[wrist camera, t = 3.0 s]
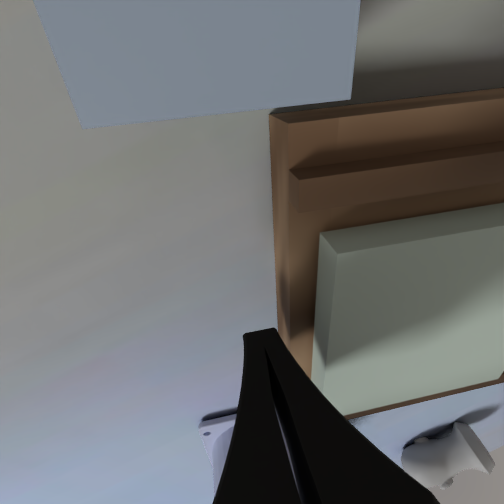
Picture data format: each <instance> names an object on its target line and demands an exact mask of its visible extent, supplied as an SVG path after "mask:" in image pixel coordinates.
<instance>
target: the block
mask: <svg viewBox="0 0 504 504" xmlns="http://www.w3.org/2000/svg"><path fill="white" fill-rule="evenodd" d="M360 1H361V0H33V2H34V4H35V7H36V9H37V12H38V15H39V17H40V20H41V23H42V25H43V28H44V30H45V33H46V36H47V38H48V41H49V43H50V46H51V49H52V51H53V54H54V56H55V59H56V62H57V64H58V67H59V69H60V72H61V75H62V77H63V80H64V82H65V85H66V88H67V90H68V93H69V95H70V98H71V101H72V103H73V106H74V108H75V111H76V114H77V116H78V119H79V121H80V124H81V127H82V129H88V128H97V127H106V126H115V125H124V124H133V123H142V122H151V121H160V120H169V119H178V118H187V117H196V116H205V115H215V114H224V113H233V112H242V111H251V110H260V109H269V108H278V107H287V106H296V105H305V104H314V103H323V102H332V101H341V100H350V99H351V91H352V81H353V71H354V61H355V51H356V41H357V31H358V21H359V11H360Z"/></svg>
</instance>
